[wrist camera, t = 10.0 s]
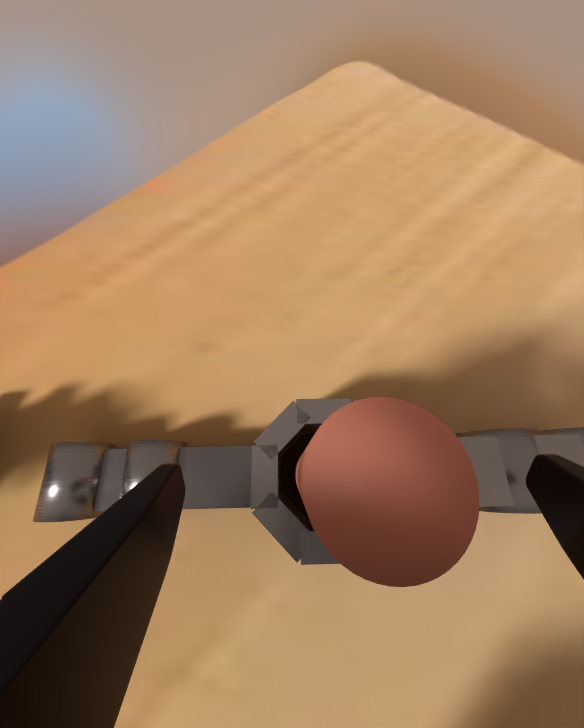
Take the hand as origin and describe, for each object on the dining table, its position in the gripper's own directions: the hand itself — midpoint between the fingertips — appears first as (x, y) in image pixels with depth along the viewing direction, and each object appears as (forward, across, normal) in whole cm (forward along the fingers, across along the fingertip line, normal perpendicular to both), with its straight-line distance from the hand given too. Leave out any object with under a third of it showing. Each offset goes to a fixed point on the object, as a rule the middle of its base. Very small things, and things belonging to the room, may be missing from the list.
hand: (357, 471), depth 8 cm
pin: (+7, 0, +8) cm, 10 cm away
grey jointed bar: (+7, 0, +7) cm, 10 cm away
